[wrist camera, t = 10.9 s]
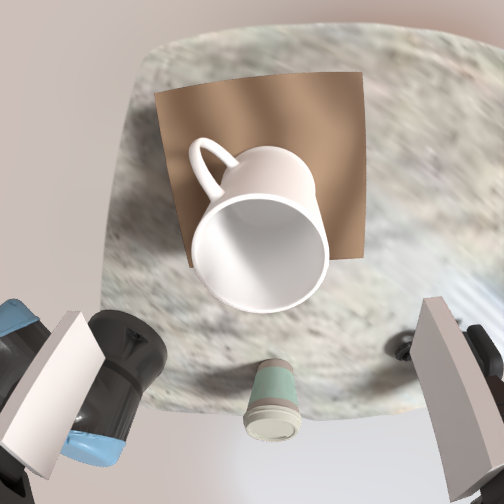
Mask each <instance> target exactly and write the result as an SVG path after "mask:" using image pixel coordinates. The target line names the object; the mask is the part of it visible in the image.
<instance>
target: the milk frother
mask: <svg viewBox="0 0 504 504" xmlns="http://www.w3.org/2000/svg"><path fill="white" fill-rule="evenodd" d="M462 333H463V335H464V337H465V339H466V341H467V343H468V345H469V347H470V349H471V351H472V353H473V355H474V357H475V359H476V361H477V363H478V365H479V367H480V370H481V372H482V374H483V376H484V378H486V377H489V376H493V375H497V376H498V377H499V378H500V379H502V376H503V369H504V368H503V360H502V357H501V354H500V353H499V351H498V349H497V348H496V346H495V345H494V343H493V342H492V340H491V339H490V337H489V336H488V334H487V333H486V331H485V330H484V328H483V327H482V326H481V325H479V324H478V325H471V326H469V327H468V328H467V332H462ZM412 342H413V341H411V342H409V343H407V344H405V345H404V346H402V347H401V348H399V349H398V350H397V351H396V353H395V356H396V359H398V360H404V362H407V361H411V360H412V358H411V355H410V349H411V345H412Z"/></svg>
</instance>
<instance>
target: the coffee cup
mask: <svg viewBox="0 0 504 504" xmlns="http://www.w3.org/2000/svg"><path fill="white" fill-rule="evenodd" d="M243 421H244V425H245V428H246V432H247V433H248V434H249V435H250V436H251V437H253V438H255V439H257V440H261V441H266V442H280V441H285V440H289V439H291V438H293V437H294V436H296V434H297V433H298V430H299V428H300V426H301V422H302V417H301V415H300V414H299V409H298V402H297V395H296V388H295V382H294V375H293V369H292V366H291V365H290V364H289V363H288V362H286V361H284V360H281V359H269V360H266V361H263V362H262V363H260V365H259V366H258V369H257V373H256V376H255V380H254V384H253V388H252V392H251V396H250V400H249V404H248V408H247V412H246V413H245V414H244V416H243Z"/></svg>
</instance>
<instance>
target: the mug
mask: <svg viewBox="0 0 504 504" xmlns="http://www.w3.org/2000/svg"><path fill="white" fill-rule="evenodd" d="M200 147H202V148H205V149H207V150H209V151H210V152H212V153H213V154H215V155H216V156H217V157H218V158H219V159H220V160H222V161H223V162H224V163H225V165H226V166H227V168H226V170H225V172H224V174H223V177H222V181H221V185H220V186H219V185H218V184H217V183H216V181H215V180H214V178H213V177H212V175H211V174H210V172H209V170H208V169H207V167H206V165H205V163H204V161H203V158H202V156H201V152H200ZM189 159H190V163H191V166H192V169H193V171H194V173H195V175H196V177H197V179H198V181H199V183H200V184H201V186H202V188H203V189H204V191H205V192H206V194H207V195H208V197H209V199H210V201H211V202H210V204H209V206H208V208H207V210H206V211H205V213H204V215H203V217H202V219H201V221H200V223H199V224H198V226H197V228H196V231H195V233H194V237H193V241H192V249H191V254H192V262H193V266H194V269H195V271H196V274H197V276H198V278H199V279H200V281H201V283H202V284H203V285H204V287H205V288H206V289H207V290H208V291H209V292H210V293H211V294H212V295H213V296H214V297H216V298H217V299H218V300H220V301H221V302H223V303H225V304H227V305H229V306H231V307H233V308H236V309H239V310H242V311H247V312H253V313H273V312H279V311H283V310H286V309H289V308H292V307H294V306H296V305H298V304H300V303H302V302H303V301H305V300H306V299H307V298H309V297H310V296H311V295H312V294H313V293H314V292H315V291H316V290H317V288H318V287H319V286H320V284H321V283H322V281H323V279H324V277H325V275H326V272H327V268H328V264H329V246H328V241H327V237H326V233H325V229H324V226H323V222H322V218H321V214H320V211H319V207H318V203H317V200H316V196H315V183H314V179H313V176H312V174H311V172H310V170H309V168H308V167H307V165H306V164H305V163H304V162H303V161H302V160H301V159H300V158H299V157H298V156H296V155H295V154H294V153H292V152H290V151H288V150H286V149H283V148H279V147H274V146H260V147H255V148H252V149H249V150H247V151H245V152H243V153H241V154H240V155H238V156H237V157H236V158H234V157H233V156H232V155H231V154H230V153H228V152H227V151H226V150H225V149H224V148H223V147H221V146H220V145H219V144H217V143H216V142H214V141H212V140H210V139H208V138H198V139H196V140H195V141H194V142H193V143H192V144H191V146H190V148H189Z"/></svg>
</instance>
